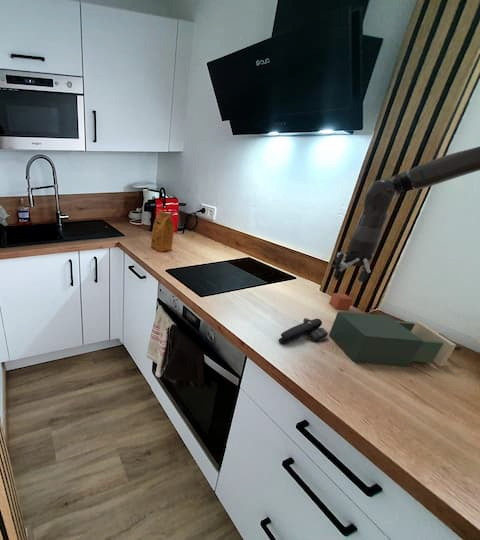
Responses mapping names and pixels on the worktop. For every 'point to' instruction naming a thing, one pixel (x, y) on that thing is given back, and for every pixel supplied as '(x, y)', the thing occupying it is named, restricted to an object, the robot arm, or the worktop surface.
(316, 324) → the can opener
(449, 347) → the drawer
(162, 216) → the coffee package
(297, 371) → the worktop surface
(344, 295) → the block
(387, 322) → the cabinet
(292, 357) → the worktop surface
